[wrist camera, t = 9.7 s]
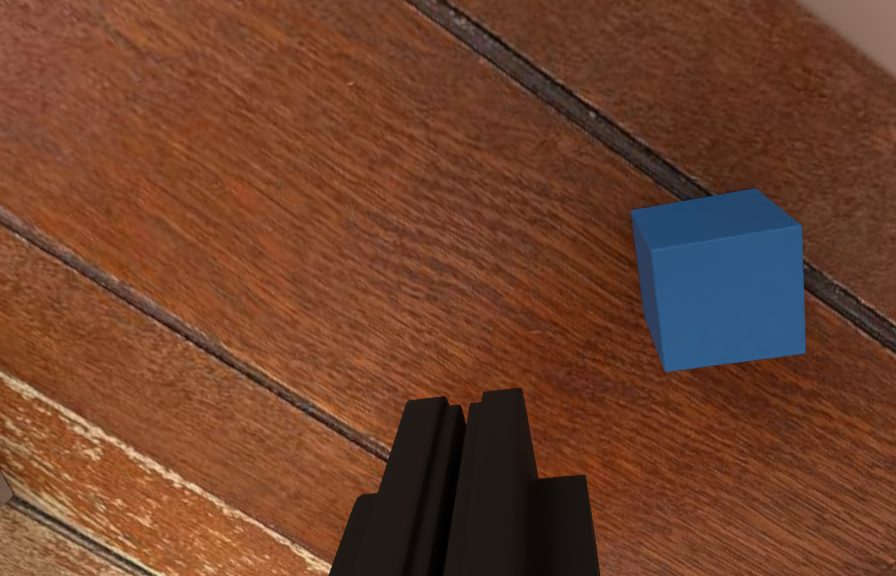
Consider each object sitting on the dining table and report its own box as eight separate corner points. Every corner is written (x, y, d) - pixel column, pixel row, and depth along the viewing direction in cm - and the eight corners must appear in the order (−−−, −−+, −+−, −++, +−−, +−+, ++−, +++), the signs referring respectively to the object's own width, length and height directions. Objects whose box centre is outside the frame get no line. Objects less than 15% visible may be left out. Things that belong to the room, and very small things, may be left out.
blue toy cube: (630, 209, 22) (650, 250, 19) (756, 187, 22) (803, 224, 18) (644, 316, 24) (664, 372, 20) (762, 298, 23) (806, 354, 19)
